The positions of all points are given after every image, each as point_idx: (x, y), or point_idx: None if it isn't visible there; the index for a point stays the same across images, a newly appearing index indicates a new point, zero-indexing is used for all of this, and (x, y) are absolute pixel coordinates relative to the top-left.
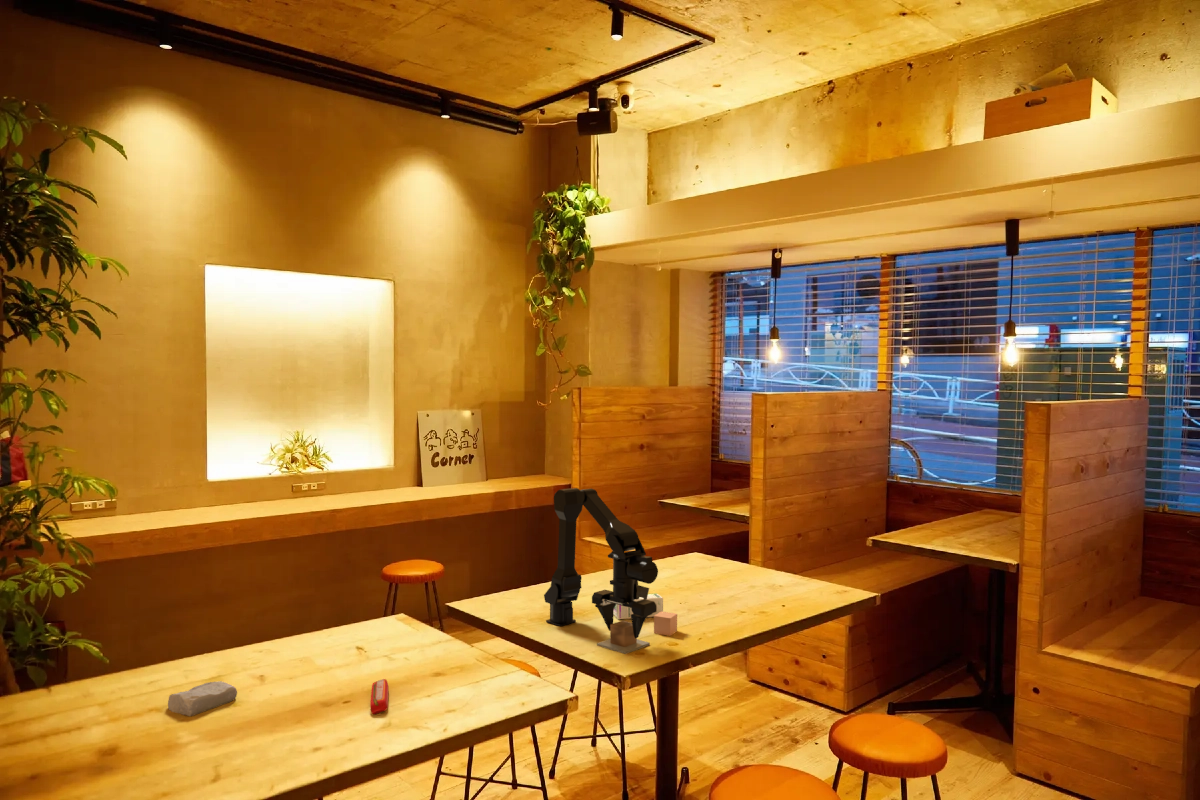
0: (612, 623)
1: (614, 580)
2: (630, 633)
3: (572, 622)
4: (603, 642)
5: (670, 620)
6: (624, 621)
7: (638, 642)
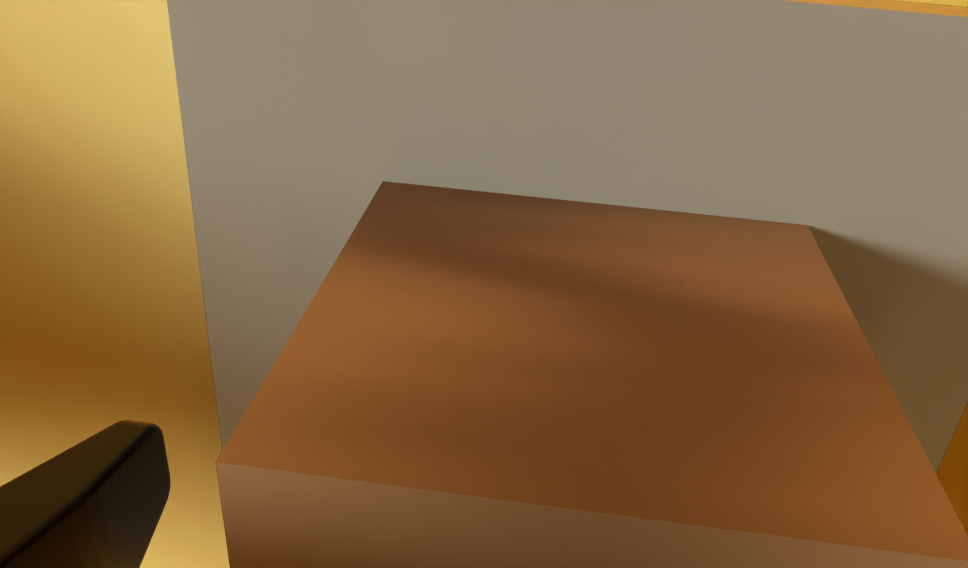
0: (63, 543)
1: None
2: None
3: None
4: None
5: None
6: (349, 509)
7: (840, 184)
